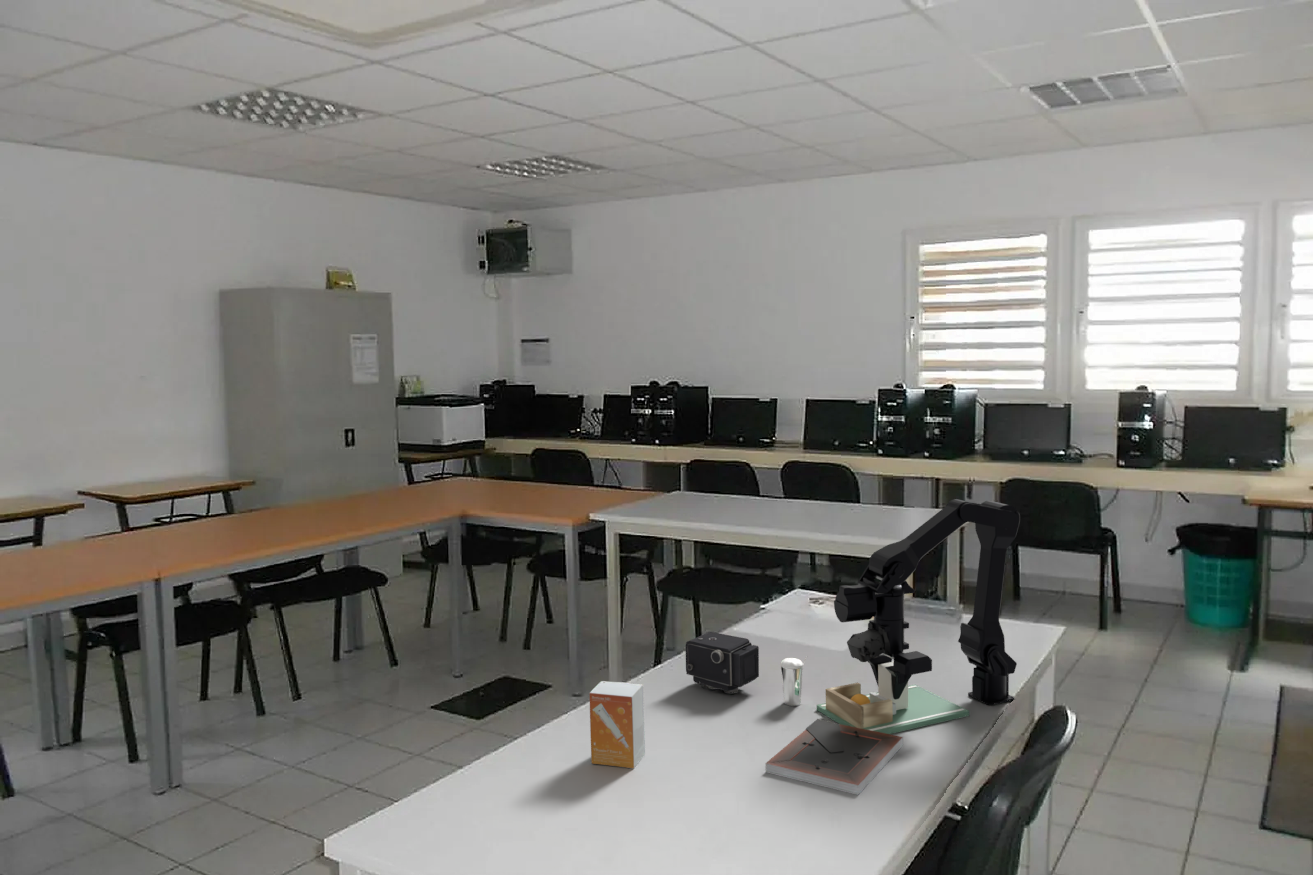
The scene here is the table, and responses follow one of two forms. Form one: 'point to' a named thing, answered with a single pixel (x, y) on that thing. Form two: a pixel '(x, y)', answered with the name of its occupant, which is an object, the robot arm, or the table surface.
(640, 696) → the small box
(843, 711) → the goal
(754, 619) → the table surface
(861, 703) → the ball
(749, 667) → the camera
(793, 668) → the milkshake
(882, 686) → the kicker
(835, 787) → the book
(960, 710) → the board
